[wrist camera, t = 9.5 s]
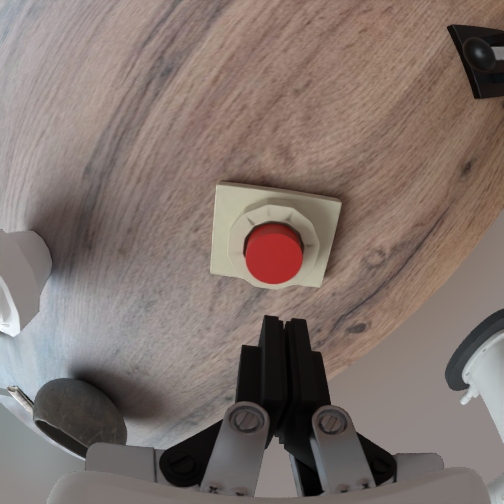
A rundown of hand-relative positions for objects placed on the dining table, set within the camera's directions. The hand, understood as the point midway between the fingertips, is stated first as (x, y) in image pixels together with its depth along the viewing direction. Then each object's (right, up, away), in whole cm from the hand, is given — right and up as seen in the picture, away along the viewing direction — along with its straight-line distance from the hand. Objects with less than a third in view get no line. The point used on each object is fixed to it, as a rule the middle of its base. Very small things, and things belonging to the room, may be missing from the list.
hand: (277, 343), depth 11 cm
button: (+1, +4, +10) cm, 11 cm away
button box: (+1, +5, +13) cm, 14 cm away
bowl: (-30, -22, +28) cm, 47 cm away
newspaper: (-69, -46, +41) cm, 92 cm away
